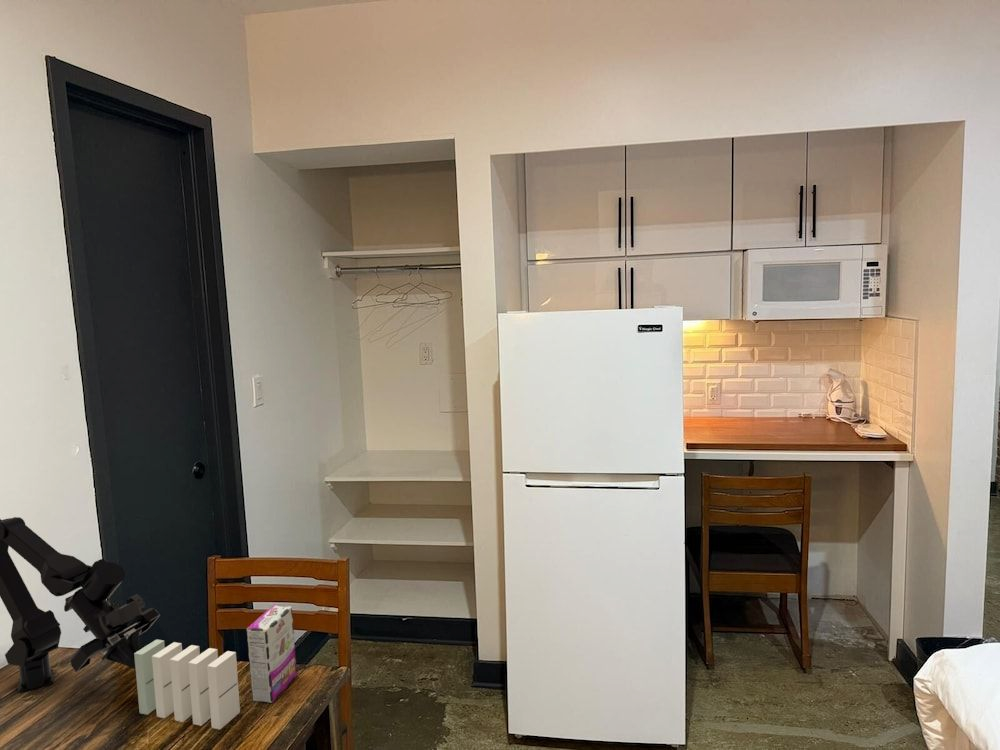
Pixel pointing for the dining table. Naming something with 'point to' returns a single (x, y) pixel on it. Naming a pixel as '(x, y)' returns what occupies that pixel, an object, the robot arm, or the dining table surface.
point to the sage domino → (146, 675)
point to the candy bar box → (271, 653)
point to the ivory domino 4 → (223, 689)
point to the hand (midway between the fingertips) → (142, 668)
